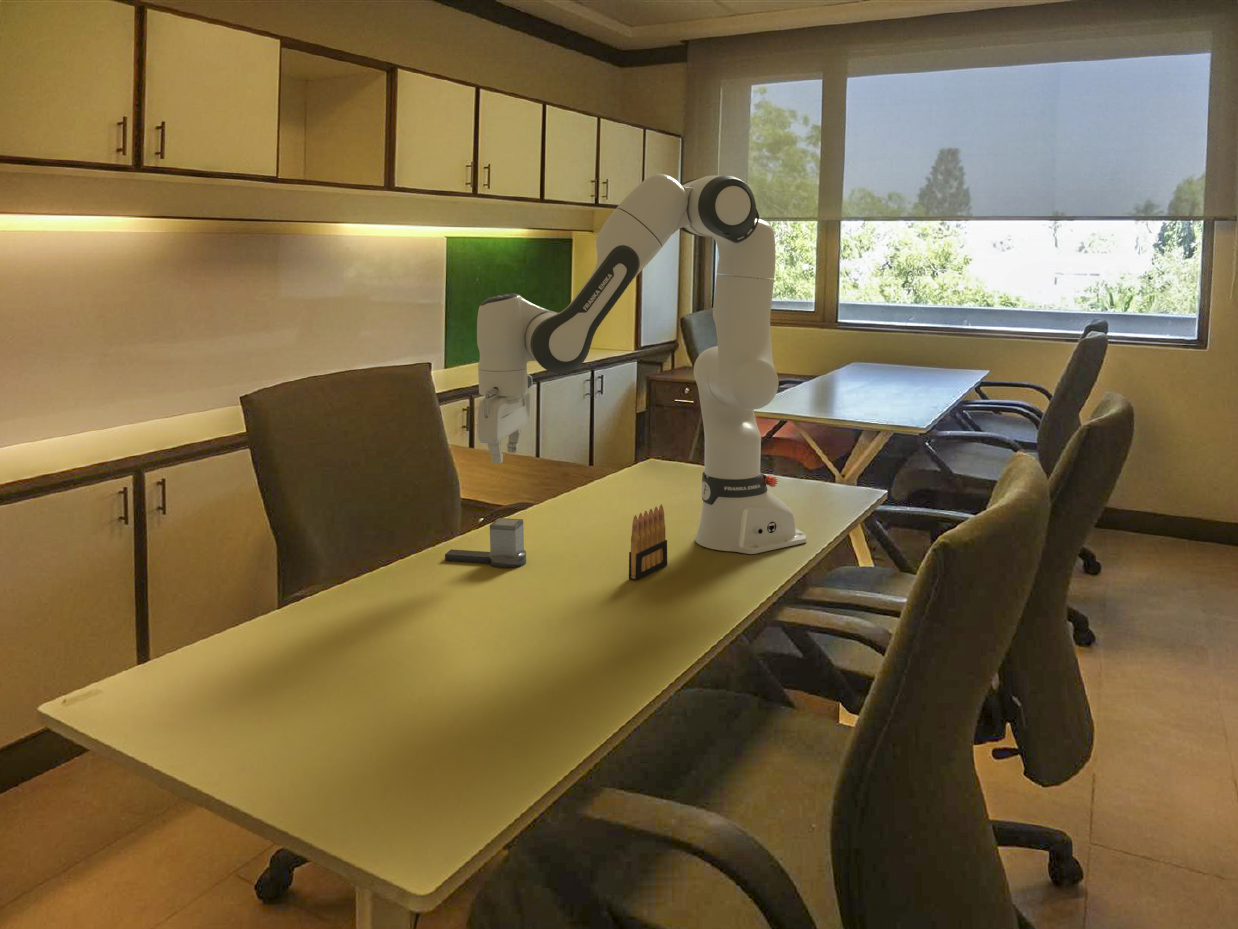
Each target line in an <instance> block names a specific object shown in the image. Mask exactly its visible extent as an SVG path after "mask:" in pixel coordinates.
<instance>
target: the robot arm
mask: <svg viewBox="0 0 1238 929" xmlns="http://www.w3.org/2000/svg"><path fill="white" fill-rule="evenodd" d="M678 230H681V231H682V232H685V233H686V234H689V235H692V236H698V237H699V236H701V237H705V238H713V239H714V241H715V243H716V245H717V246H716V247H717V251H718V261H717V269H716V276H715V277H716V278H715V284H714V285H715V286H714V287H715V289H714V295H713V303H712V304H713V307H712V319H713V322H714V325H715V329H716V330H715V331H716V340H717V345H715V346H712V347H709V348H707V349H705V350H703V351H702V352H701V353H699V355H698V357H697V358H696V360H695V362H694V365H693V377H694V380H695V382H696V386H697V389H698V391H697V392H698V396H699V398H698V399H699V403H700V412H701V417H702V424H703V432H704V433H703V434H704V471H703V472H702V473H701V474H702V477H701V501H702V506H701V515H700V520H699V523H698V525H699V526H698V529H697V532H696V535H695V539H694V540H695V543H696V544H698V545H700V546H702V547H705V548H707V549H710V550H716V551H722V552H723V551H724V552H734V553H736V552H737V553H742V554H747V555H756V554H759V553H760V554H761V553H765V552H768V551H774V550H777V549H782V548H786V547H787V548H788V547H791V546H797V545H800V544H804V543H806V542H807V535H806V534H805V533H804V532H803V531H801V530H800V529H798V528H797V527H796V522H795V516H794V513H793V511H792V508H790V507H789V506H788V505H787V504H785V502H783V501H782V500H780V499H779V498H778V497H776V496H775V495H774V494H773V493H771V492H770V491H768V487H767V486H769V487H771V488H774V487H776V486H777V485H778V482H779V481H778V479H777V477H776V476H772V475H766V474H764V473H762V472H761V448H762V446H761V445H762V443H761V442H762V437H761V436H762V435H761V431H760V429H759V427H758V424H757V419H756V415H755V410H758V409H762V408H764V407H766V406H768V405H769V404H770V403H771V402H772V401H773V400H774V399H775V397H776V395H777V393H778V389H779V384H780V383H779V376H778V373H777V371H776V368H775V366H774V364H775V363H774V358H773V348H772V334H771V312H772V304H773V303H772V301H773V293H774V284H775V274H776V254H777V253H776V238H775V232H774V229H773V226H771V225H770V224H769V223H768V222H767V221H765V220H763V219H762V218H760V214H759V212H758V209H757V204H756V199H755V196H754V193H753V191H752V190H751V188H750V186H749V185H748V184H747V182H745V181H743V180H742V179H740V178H738V177H735V176H732V175H707V176H703V177H701V178H694V179H691V180H687V181H685V182H683V183H682V182H681V183H680V182H679V181H678V180H677V179H676V178H674V177H673V176H670V175H669V174H664V173H659V172H658V173H653V174H651V175H649V176H647V177H646V178H645V179H644V180H642V181H641V183H639V184H638V185H637V186H636V187H634V189H633V190H632V191H630V192H629V193H628V195H626V197H625V198H623V199H622V201H621V202H620V203H619V204H618V206H617V207H616V208H615V209H614V210H613V212H611V214H610V215H609V217H608V218H607V219H606V221H605V222H604V224H603V225H602V227H601V229H600V231H599V233H598V235H597V237H596V238H595V250H596V254H597V255H596V256H597V257H596V258H597V259H596V264H595V267H594V270H593V272H592V274H591V275H590V276H589V278H588V279H587V281H586V282H585V283H584V285H583V286H582V287H581V288H580V290H579V291H578V293H577V294H576V295H575V297H573V299H572V300H571V302H570V303H569V305H568V306H567V307H565V308H564V309H563V310H561V311H560V312H556V311H553V310H550V309H546V308H544V307H542V306H540V305H536V304H534V303H532V302H530V301H529V300H526V298H524V297H523V296H521V295H520V294H519V293H514V292H513V293H502V294H498V295H497V294H496V295H493V296H491V297H487V298H486V299H483V301H482V302H481V303H480V305H479V307H478V312H477V320H476V343H477V344H476V345H477V348H478V352H479V360H478V361H479V362H478V366H477V372H478V393H479V394H480V395H481V396H484V398H483V399H482V400H481V401H479V403H478V408H477V439H478V442H479V443H480V444H481V443H482V444H487V448H488V450H489V453H490V456H491V457H490V462H491V464H493V465H500V464H502V463H503V461H504V453H503V452H502V448H501V446H502V440H504V439H506V438H507V437H508V443H507V444H506V447H507V449H506V450H507V452H508V453H509V454H516V453H517V452H518V451H519V447H520V446H519V443H520V442H519V441H520V439H521V438H520V437H521V429H522V428H523V427H525V426H526V425H528V424H529V420H530V414H531V390H530V389H531V388H532V386H533V376H532V375H530V374H529V373H528V368H527V364H528V363H529V362H536V363H538V364H539V365H540V367H542V368H543V370H544V369H545V371H547V372H550V373H553V374H567V373H570V372H573V371H575V370H576V369H578V368H579V367H581V365H582V364H583V363H584V362H585V361H586V360H587V357H588V354H589V352H590V349H591V347H592V346H591V345H592V343H593V339H594V336H595V334H596V331H597V330H598V328H599V326H600V325H601V324H602V322H603V321H604V319H605V318H606V317H607V316H608V314H609V313H610V312H611V310H612V309H613V308H614V306H615V305H616V303H617V302H619V301H618V300H620V298H621V296H622V295H623V294H624V292H625V291H626V289H627V288H628V286H629V285H630V284H631V282H633V280H634V279H636V277H637V276H638V275H639V274H640V273H641V271H642V270H644V268H646V267H647V266H648V264H649V263H650V262H651V261H652V259H653V258H654V257H655V256H657V254H658V253H659V251H661V249H662V248H663V247H664V245H665V244H666V243H667V242H668V241H669V239H670V237H671V236H672V235H674V234H675V233H676V232H677V231H678Z"/></svg>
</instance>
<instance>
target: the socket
mask: <svg viewBox="0 0 1238 929" xmlns="http://www.w3.org/2000/svg"><path fill="white" fill-rule="evenodd" d="M524 536H525V534H524V519H522V518H520V519H519V518H504V517H498V518H496V519H495V520H494V521H493V522H491V523H490V524H489V549H490V550H489V552H490V553H491V556H501V557H517V556H518V555H519V554H520V553H521V552H522V551H523V550H525V540H524Z"/></svg>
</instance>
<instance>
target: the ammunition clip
mask: <svg viewBox="0 0 1238 929" xmlns="http://www.w3.org/2000/svg"><path fill="white" fill-rule="evenodd" d="M632 519H633V520H632V524H631V525H632V526H631V527H632V528H631V537H630V551H629V552H628V555H629V556H628V557H629V558H628V579H629V580H632V581H637V582H638V581H640V580H642V579H644V578H646V577H648V576H650V575H651V574H654V573H656V572H658V571H659V570H660V571H661V570H662V569H664V568H666V567H668V540H667V539H666V523H665V522H666V521H665V511H664V506H663V504H660V505H659V507H658V506H655V507H654V508H653V509H652V508H650V509H649V510H648V511H647V510H645V511H644V514H642V512H640V513H639V515H638V516H637V515H633V518H632Z"/></svg>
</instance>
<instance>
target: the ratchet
mask: <svg viewBox="0 0 1238 929" xmlns="http://www.w3.org/2000/svg"><path fill="white" fill-rule="evenodd" d="M444 561H445V562H450V563H465V564H479V565H489V566H491V567H492V568H496V569H503V570H505V569H509V570H510V569H516V568H520V567H523V566H525V565H526V564H527V551H526V550H525V549H524V550H523V551H522V552H521V553H520V554H519V555H518V556H517V557H501V556H491V553H490V551H483V550H482V551H480V550H479V551H478V550H467V549H466V550H465V549H449V550H448V551H447V552H446V553H444Z"/></svg>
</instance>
